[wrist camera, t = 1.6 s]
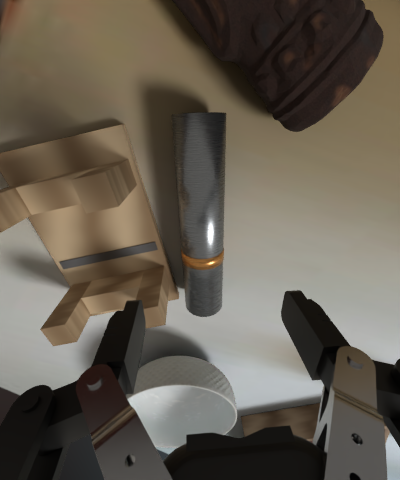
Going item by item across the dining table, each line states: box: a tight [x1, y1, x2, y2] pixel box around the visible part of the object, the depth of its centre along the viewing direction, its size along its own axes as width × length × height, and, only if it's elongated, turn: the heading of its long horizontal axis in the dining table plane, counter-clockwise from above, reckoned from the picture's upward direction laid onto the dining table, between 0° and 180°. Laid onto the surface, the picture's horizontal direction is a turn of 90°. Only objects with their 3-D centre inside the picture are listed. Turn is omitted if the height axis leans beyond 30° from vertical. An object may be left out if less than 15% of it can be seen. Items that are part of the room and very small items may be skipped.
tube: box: [172, 112, 226, 317], centre depth 22 cm, size 20×4×4 cm, turn 1°
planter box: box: [241, 403, 390, 443], centre depth 47 cm, size 26×26×5 cm
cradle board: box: [0, 124, 179, 346], centre depth 21 cm, size 12×20×8 cm, turn 12°
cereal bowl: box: [126, 356, 237, 448], centre depth 33 cm, size 17×17×7 cm
